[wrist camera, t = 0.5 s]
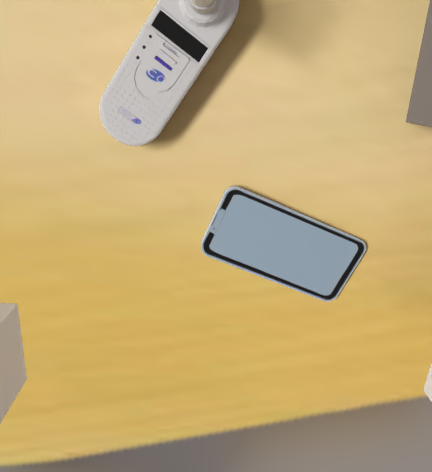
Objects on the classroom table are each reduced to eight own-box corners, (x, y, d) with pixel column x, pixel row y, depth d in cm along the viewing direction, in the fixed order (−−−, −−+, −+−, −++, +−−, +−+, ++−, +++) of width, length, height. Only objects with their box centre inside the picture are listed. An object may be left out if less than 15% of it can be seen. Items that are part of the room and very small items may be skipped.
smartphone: (332, 304, 41) (197, 252, 38) (329, 300, 42) (197, 248, 39) (370, 243, 39) (229, 183, 36) (366, 239, 40) (228, 180, 37)
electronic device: (55, 134, 26) (189, -102, 21) (94, 116, 35) (194, -52, 30) (127, 181, 27) (268, -31, 23) (147, 152, 36) (250, -3, 32)
